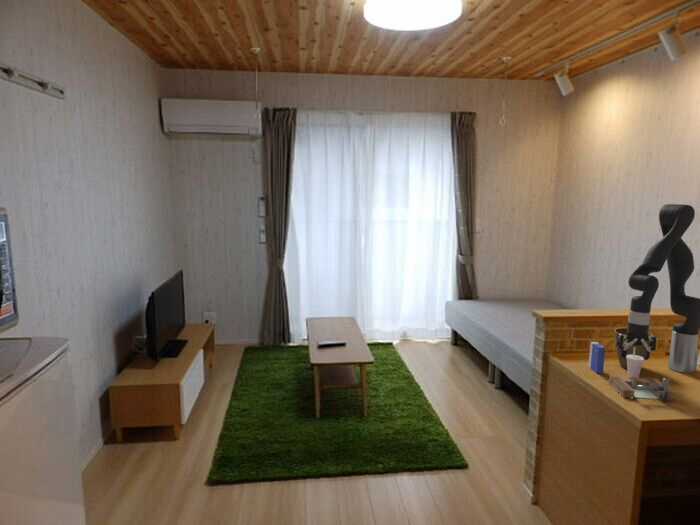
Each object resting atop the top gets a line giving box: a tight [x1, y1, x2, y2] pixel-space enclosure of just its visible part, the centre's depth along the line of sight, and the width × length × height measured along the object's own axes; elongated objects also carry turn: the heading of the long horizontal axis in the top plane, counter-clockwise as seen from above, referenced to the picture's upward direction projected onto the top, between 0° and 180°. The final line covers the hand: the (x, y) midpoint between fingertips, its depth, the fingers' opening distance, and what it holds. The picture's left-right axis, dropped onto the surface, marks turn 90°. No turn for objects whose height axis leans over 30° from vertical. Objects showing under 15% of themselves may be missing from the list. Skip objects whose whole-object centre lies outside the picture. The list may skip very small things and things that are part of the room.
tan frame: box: [608, 375, 675, 401], centre depth 180 cm, size 18×13×3 cm
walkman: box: [588, 341, 606, 374], centre depth 201 cm, size 8×3×12 cm, turn 176°
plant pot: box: [614, 327, 653, 369], centre depth 204 cm, size 15×15×16 cm
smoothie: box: [626, 347, 645, 378], centre depth 191 cm, size 6×6×14 cm
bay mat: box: [632, 388, 659, 400], centre depth 179 cm, size 9×9×1 cm
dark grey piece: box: [632, 377, 670, 403], centre depth 172 cm, size 13×2×9 cm, turn 82°
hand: (634, 358), depth 191 cm, fingers open, 8 cm apart
